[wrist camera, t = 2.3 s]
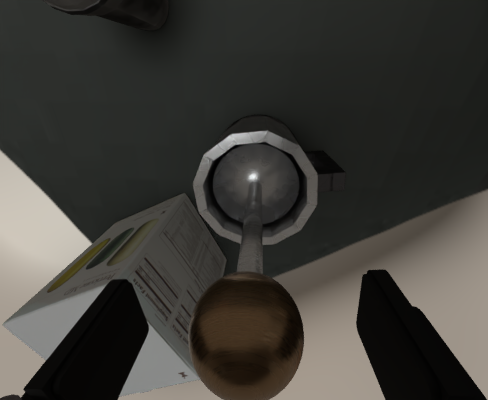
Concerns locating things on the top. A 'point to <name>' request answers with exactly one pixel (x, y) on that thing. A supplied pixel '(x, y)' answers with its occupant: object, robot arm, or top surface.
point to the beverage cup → (119, 11)
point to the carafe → (281, 137)
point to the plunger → (249, 286)
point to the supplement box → (145, 285)
